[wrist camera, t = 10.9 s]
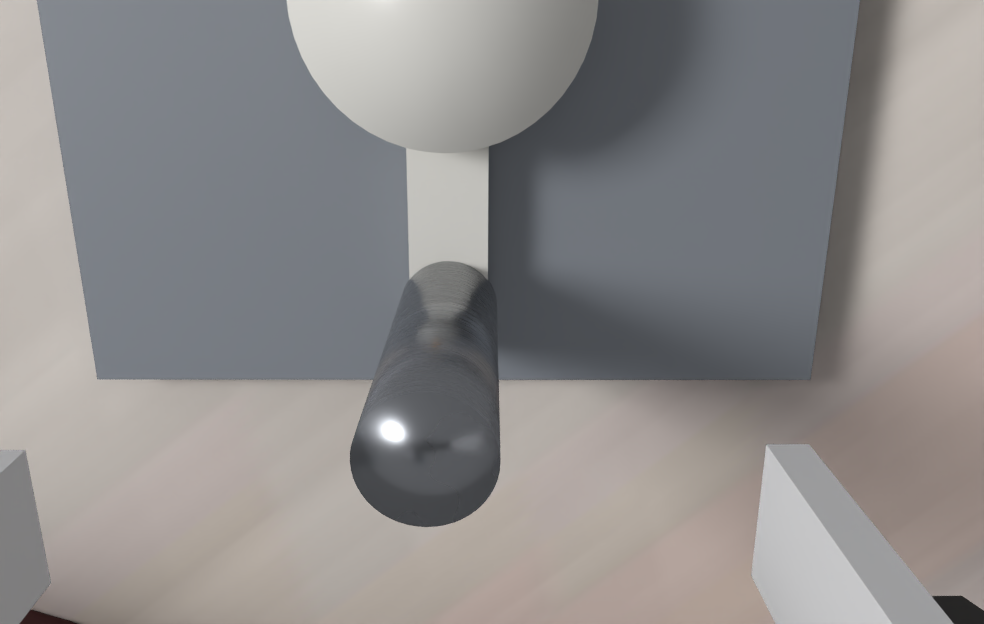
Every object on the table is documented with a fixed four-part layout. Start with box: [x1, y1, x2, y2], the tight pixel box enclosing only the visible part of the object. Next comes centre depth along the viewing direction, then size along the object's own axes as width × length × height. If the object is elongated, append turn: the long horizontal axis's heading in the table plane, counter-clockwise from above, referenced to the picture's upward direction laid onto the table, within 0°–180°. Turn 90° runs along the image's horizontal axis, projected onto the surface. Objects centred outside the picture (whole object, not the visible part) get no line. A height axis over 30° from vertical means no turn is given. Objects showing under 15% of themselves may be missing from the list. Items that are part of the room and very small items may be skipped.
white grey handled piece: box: [287, 0, 598, 527], centre depth 19 cm, size 20×8×11 cm, turn 0°
